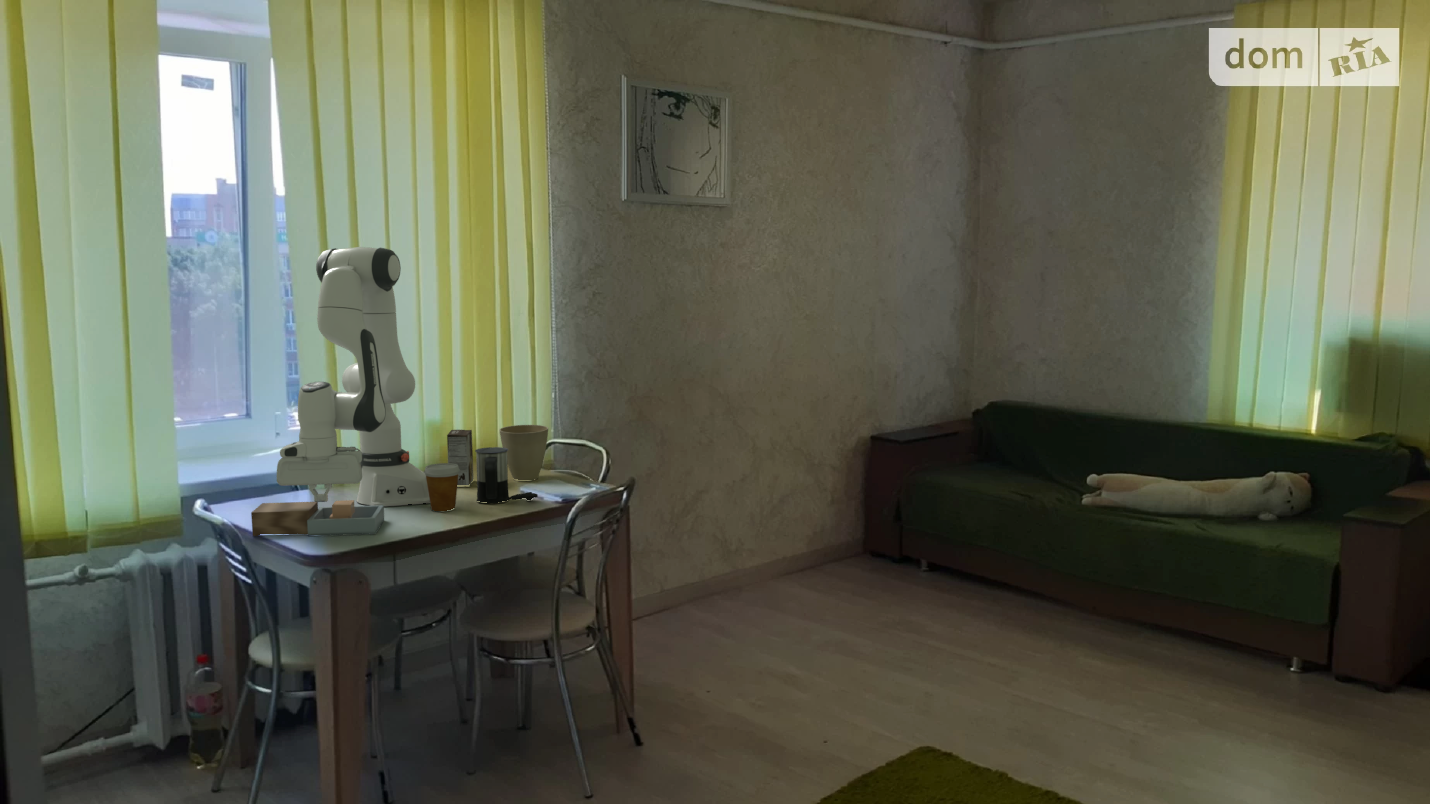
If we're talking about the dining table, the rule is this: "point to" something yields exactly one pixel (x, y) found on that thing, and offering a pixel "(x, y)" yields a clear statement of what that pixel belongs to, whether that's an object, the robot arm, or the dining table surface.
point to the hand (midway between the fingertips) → (321, 501)
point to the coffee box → (461, 454)
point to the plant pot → (524, 449)
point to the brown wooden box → (282, 518)
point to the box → (346, 521)
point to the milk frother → (494, 476)
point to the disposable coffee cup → (442, 485)
